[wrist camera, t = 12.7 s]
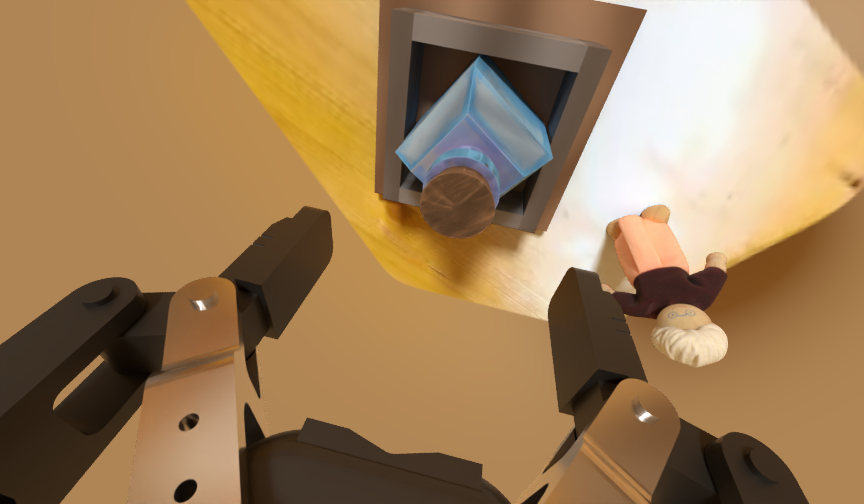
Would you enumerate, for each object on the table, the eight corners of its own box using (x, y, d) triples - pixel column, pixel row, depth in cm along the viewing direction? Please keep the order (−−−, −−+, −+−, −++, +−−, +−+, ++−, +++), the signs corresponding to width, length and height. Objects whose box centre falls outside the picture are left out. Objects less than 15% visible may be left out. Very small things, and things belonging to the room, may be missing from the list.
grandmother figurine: (672, 183, 24) (784, 315, 14) (693, 219, 25) (810, 362, 15) (573, 235, 28) (607, 363, 18) (596, 263, 29) (638, 397, 19)
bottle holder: (378, 187, 29) (359, 213, 25) (386, -37, 19) (358, -44, 16) (545, 225, 28) (549, 257, 24) (641, 9, 18) (672, 12, 15)
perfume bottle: (476, 179, 25) (455, 284, 16) (418, 120, 23) (357, 200, 14) (544, 123, 22) (567, 215, 13) (483, 48, 20) (458, 92, 11)
